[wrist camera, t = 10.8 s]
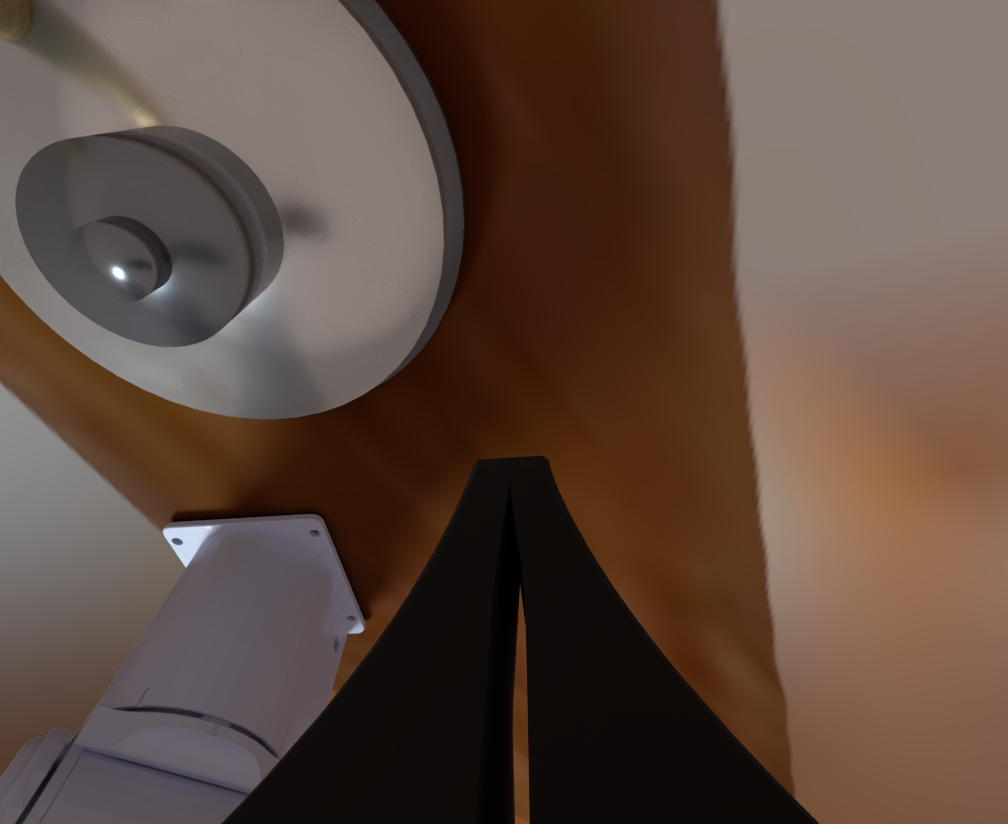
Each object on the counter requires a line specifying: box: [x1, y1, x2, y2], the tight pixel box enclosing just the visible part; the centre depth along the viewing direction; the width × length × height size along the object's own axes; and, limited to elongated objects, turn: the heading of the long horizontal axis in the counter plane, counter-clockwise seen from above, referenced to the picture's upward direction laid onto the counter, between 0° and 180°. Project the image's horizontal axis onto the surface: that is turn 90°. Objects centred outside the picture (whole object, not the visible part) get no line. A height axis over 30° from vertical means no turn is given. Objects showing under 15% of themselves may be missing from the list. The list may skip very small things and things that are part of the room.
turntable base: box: [346, 0, 466, 389], centre depth 16 cm, size 15×15×1 cm
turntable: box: [0, 0, 448, 419], centre depth 14 cm, size 14×14×5 cm
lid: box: [15, 125, 284, 347], centre depth 13 cm, size 5×5×4 cm
